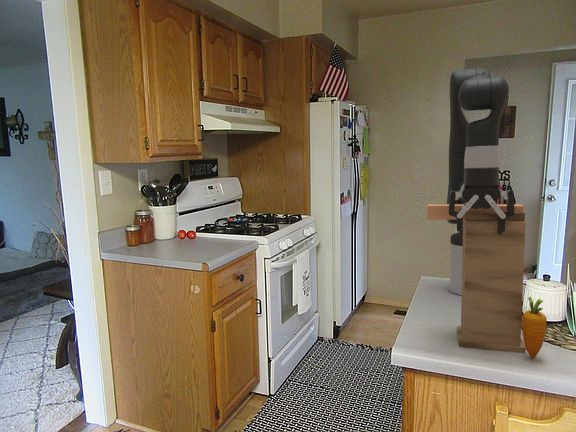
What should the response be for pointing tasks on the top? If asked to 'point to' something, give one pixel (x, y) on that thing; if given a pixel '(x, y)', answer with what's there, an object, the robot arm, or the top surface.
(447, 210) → the bar
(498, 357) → the top surface
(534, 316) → the carrot
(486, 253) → the stand
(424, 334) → the top surface
